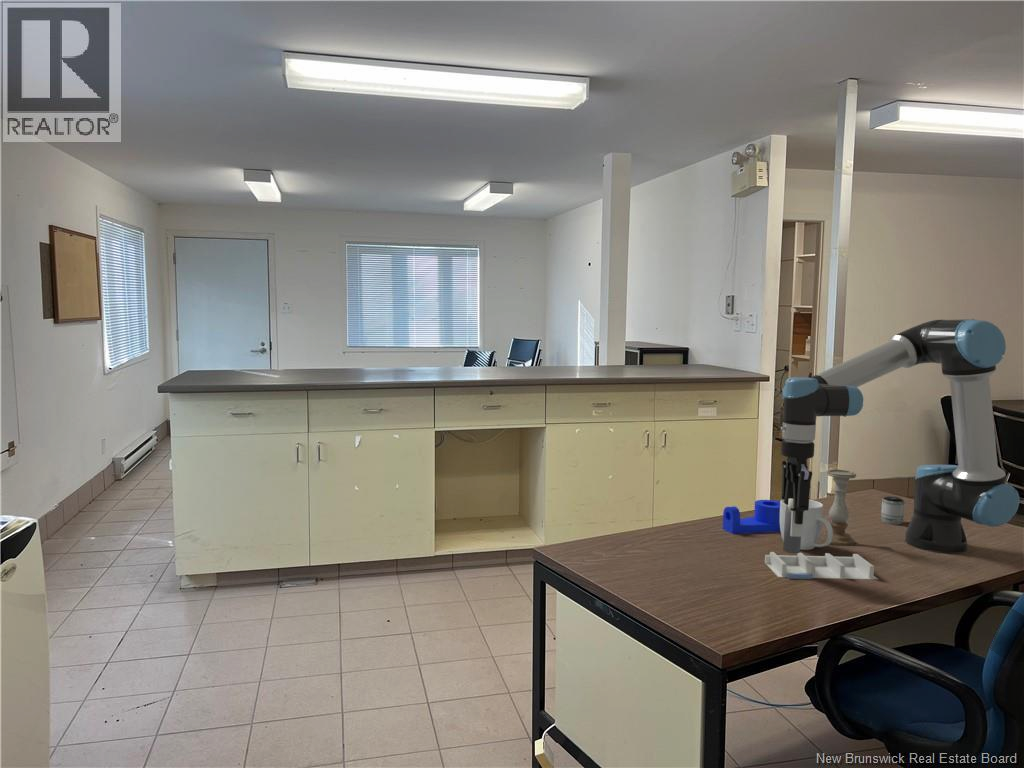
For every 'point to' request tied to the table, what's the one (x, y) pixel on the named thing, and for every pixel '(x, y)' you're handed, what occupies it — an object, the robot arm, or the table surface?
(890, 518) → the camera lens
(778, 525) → the bracket
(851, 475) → the candle holder
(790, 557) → the white compartment tray
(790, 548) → the two-tone capped cylinder
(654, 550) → the table surface
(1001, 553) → the table surface
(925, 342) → the robot arm
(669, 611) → the table surface
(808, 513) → the mug
